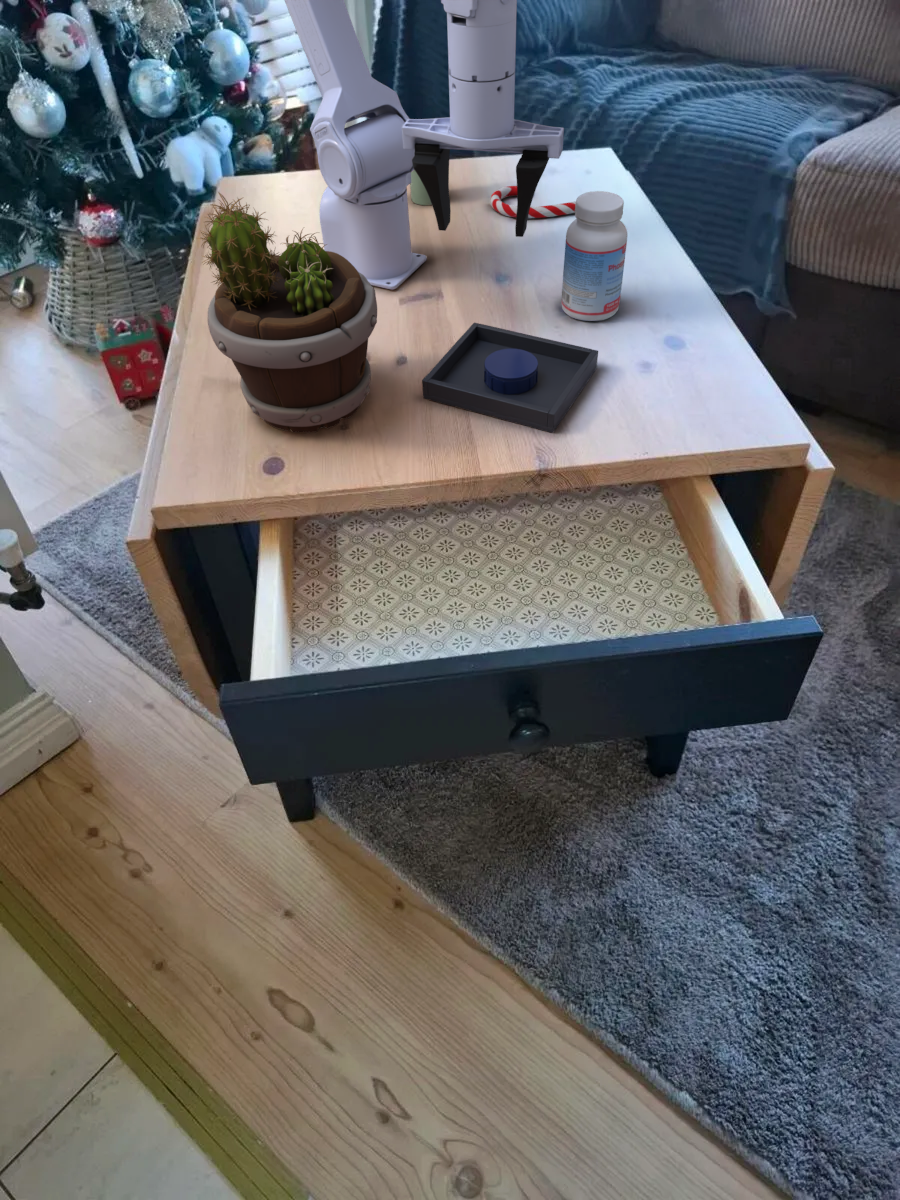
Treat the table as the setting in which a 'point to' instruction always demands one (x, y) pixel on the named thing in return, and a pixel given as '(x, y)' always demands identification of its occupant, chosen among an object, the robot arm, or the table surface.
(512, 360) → the jar lid
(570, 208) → the candy cane
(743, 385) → the table surface
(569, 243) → the pill bottle
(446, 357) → the tray
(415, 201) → the jar
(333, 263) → the flowerpot
